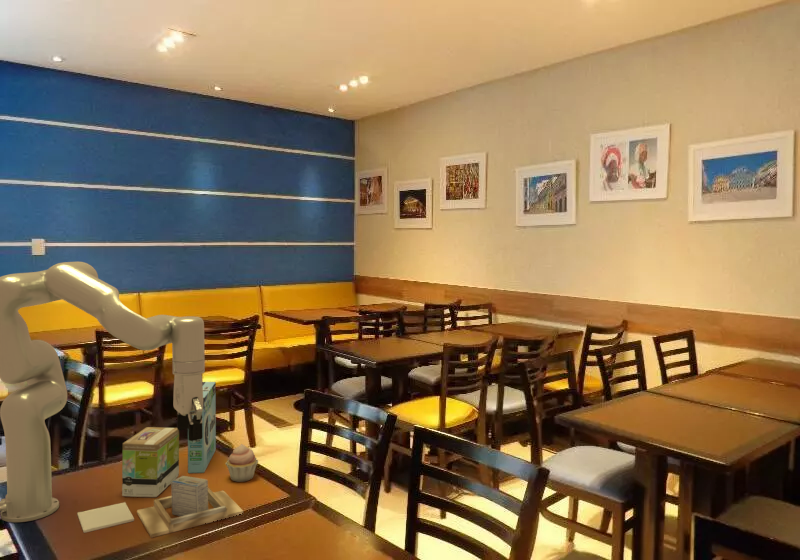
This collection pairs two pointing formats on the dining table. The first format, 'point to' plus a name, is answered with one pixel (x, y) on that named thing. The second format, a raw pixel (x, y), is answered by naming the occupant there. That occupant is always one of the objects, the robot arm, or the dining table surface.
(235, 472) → the cupcake
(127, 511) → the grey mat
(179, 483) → the medicine box
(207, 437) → the gum box
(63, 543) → the dining table surface
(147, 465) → the tea box
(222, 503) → the beige rectangular frame piece
